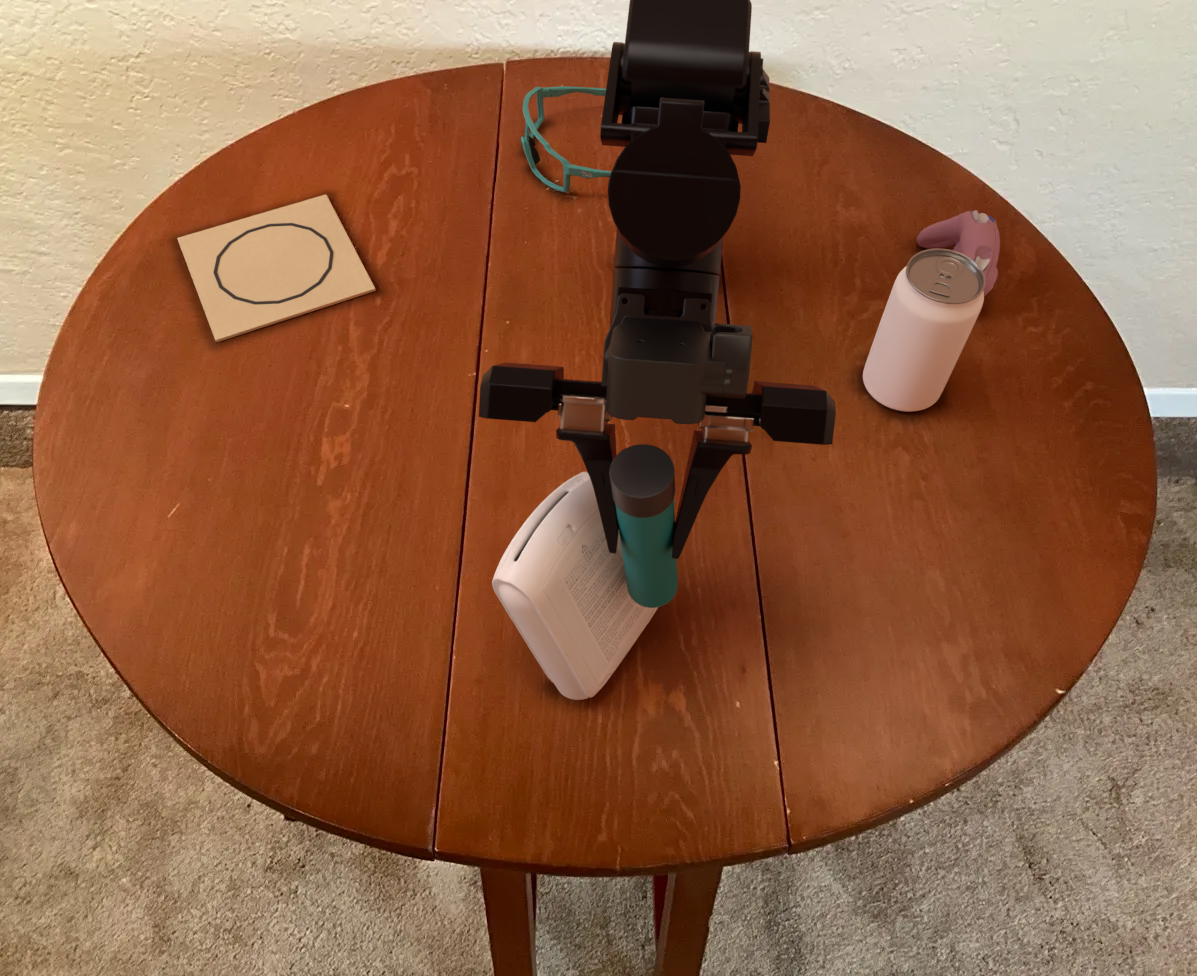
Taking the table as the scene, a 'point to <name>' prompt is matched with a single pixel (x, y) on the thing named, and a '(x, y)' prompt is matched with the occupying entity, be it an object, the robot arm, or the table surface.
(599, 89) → the sunglasses
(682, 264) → the robot arm
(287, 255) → the sketch sheet
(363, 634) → the table surface
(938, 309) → the can
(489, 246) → the table surface
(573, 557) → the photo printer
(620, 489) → the water bottle
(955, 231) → the video game controller
